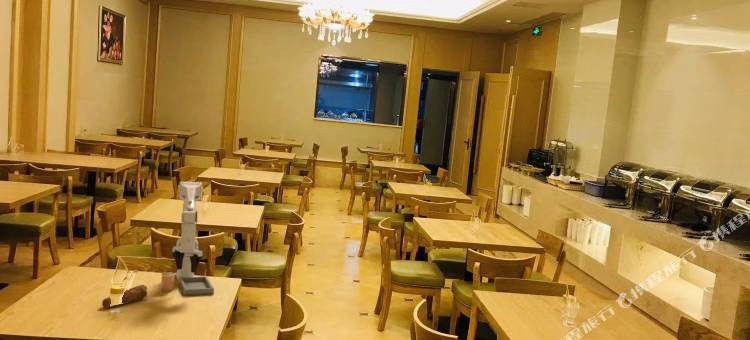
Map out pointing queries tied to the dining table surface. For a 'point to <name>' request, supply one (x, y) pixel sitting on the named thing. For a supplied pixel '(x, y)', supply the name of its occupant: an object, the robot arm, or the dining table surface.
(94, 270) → the dining table surface
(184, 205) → the robot arm
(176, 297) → the dining table surface
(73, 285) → the dining table surface
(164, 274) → the cup
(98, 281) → the dining table surface
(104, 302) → the bread
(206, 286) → the serving tray
